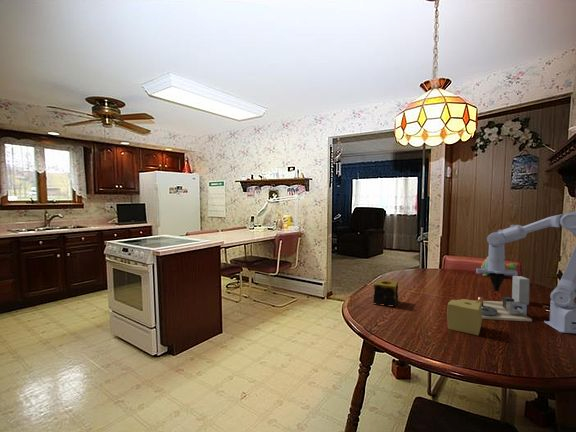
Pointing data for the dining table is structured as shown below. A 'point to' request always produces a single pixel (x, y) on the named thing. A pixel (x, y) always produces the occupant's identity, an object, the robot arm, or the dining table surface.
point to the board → (502, 312)
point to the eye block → (511, 308)
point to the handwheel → (487, 309)
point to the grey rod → (511, 301)
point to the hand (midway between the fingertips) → (496, 290)
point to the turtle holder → (511, 266)
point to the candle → (385, 292)
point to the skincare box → (520, 289)
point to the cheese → (464, 316)
